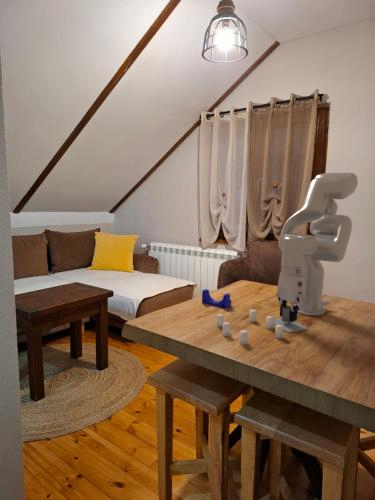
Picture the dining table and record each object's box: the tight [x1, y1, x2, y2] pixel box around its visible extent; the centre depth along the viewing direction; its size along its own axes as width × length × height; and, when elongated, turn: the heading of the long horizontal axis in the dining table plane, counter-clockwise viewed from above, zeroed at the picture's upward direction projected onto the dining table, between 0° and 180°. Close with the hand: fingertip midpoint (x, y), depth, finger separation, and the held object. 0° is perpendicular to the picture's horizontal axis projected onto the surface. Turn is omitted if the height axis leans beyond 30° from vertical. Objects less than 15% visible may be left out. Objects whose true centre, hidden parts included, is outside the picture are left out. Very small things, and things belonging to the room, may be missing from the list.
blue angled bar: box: [201, 288, 232, 310], centre depth 150 cm, size 12×4×6 cm, turn 56°
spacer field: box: [216, 309, 284, 346], centre depth 122 cm, size 21×19×4 cm
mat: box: [274, 317, 309, 334], centre depth 129 cm, size 9×12×1 cm
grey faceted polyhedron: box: [280, 304, 296, 323], centre depth 128 cm, size 5×4×5 cm
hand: (288, 317), depth 128 cm, fingers open, 4 cm apart
